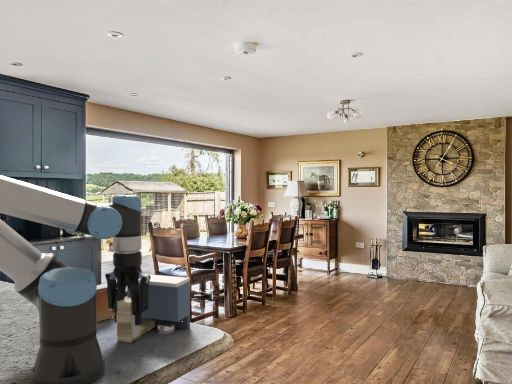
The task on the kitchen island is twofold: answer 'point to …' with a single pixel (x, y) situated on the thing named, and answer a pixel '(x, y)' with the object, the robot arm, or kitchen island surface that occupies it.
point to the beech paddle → (129, 321)
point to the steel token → (166, 327)
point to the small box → (103, 304)
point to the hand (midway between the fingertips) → (128, 335)
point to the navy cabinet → (168, 300)
